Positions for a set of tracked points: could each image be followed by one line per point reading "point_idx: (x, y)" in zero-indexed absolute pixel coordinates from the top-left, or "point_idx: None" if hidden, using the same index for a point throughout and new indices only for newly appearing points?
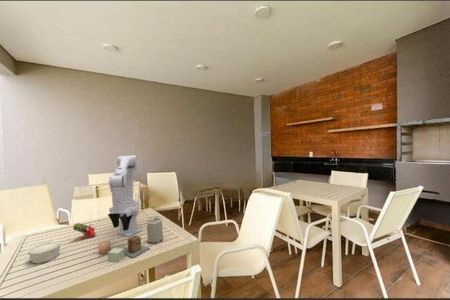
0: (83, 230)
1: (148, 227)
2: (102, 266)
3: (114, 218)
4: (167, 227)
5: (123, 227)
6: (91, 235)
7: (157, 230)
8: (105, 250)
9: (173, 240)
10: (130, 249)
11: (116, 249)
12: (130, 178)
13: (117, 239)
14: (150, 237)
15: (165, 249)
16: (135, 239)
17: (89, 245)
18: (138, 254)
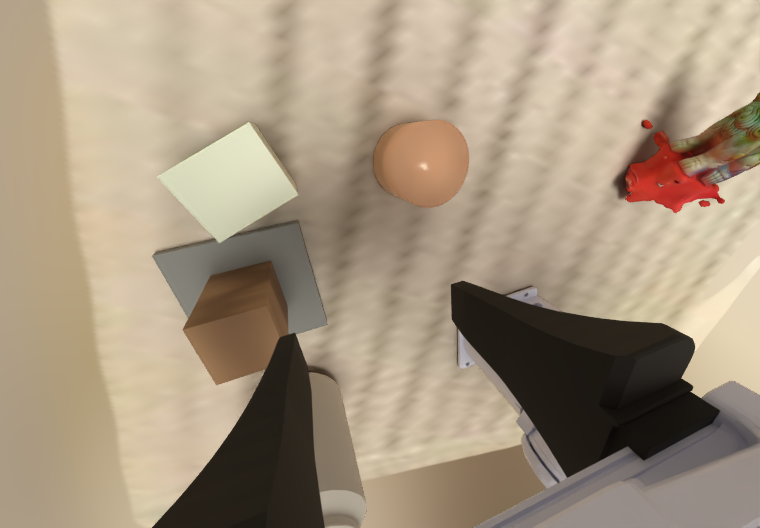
0: (710, 142)
1: None
2: (196, 52)
3: (532, 356)
4: (385, 454)
5: (272, 363)
6: (632, 176)
7: None
8: (382, 154)
9: None
10: (243, 275)
11: (248, 193)
12: None
13: (481, 263)
14: None
15: (134, 413)
16: (195, 348)
17: (558, 129)
18: (175, 292)
